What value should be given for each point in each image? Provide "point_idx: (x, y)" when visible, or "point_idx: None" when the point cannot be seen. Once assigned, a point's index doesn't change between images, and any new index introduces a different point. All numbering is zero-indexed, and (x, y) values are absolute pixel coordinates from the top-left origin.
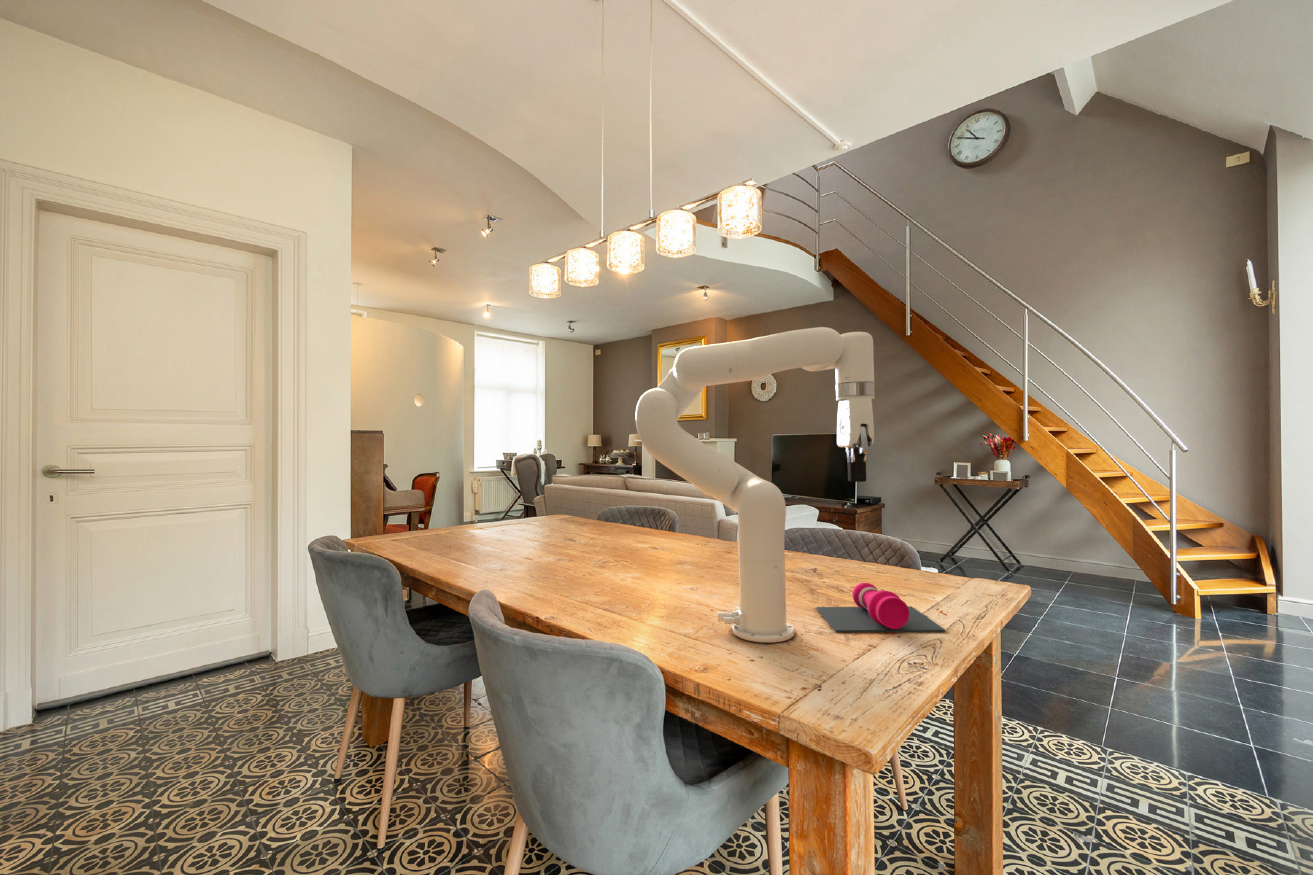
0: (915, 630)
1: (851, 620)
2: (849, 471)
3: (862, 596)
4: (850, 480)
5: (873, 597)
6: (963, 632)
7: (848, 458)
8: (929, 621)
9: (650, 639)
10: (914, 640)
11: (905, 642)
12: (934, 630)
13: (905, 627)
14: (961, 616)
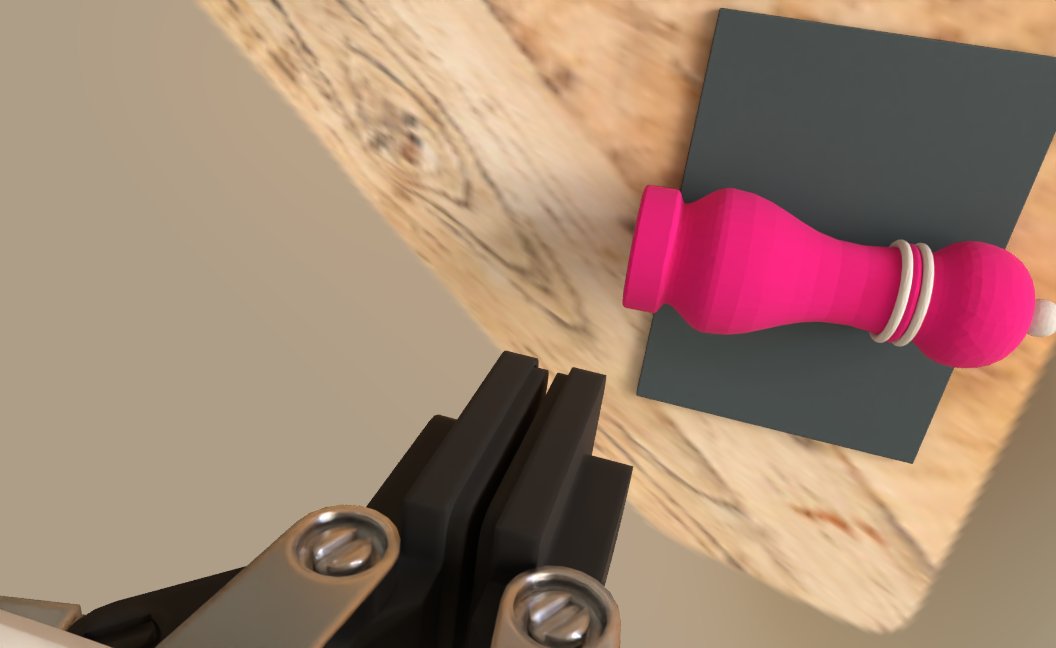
0: None
1: (820, 135)
2: (527, 435)
3: (900, 255)
4: (512, 353)
5: (720, 223)
6: (625, 438)
7: (554, 625)
8: (724, 405)
9: None
10: (585, 253)
11: (573, 213)
12: (643, 364)
13: None
14: (769, 541)
